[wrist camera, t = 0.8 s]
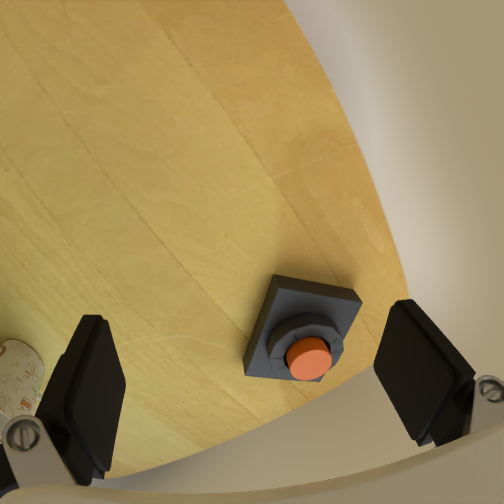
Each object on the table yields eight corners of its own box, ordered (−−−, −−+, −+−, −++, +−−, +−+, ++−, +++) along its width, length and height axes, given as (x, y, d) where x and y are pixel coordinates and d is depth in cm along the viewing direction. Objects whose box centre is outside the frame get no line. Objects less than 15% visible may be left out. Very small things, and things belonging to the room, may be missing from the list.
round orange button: (294, 333, 26) (299, 347, 24) (332, 338, 26) (339, 351, 25) (280, 365, 27) (284, 379, 25) (316, 368, 28) (322, 381, 26)
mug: (18, 321, 26) (-23, 387, 17) (90, 399, 32) (72, 468, 23) (-16, 341, 27) (-52, 398, 18) (49, 409, 32) (29, 469, 23)
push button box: (273, 273, 27) (283, 299, 24) (353, 289, 29) (371, 313, 25) (242, 360, 31) (246, 389, 27) (314, 367, 33) (324, 394, 29)
